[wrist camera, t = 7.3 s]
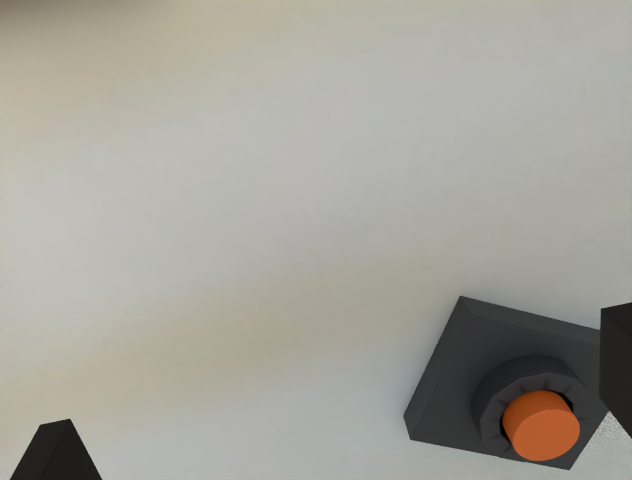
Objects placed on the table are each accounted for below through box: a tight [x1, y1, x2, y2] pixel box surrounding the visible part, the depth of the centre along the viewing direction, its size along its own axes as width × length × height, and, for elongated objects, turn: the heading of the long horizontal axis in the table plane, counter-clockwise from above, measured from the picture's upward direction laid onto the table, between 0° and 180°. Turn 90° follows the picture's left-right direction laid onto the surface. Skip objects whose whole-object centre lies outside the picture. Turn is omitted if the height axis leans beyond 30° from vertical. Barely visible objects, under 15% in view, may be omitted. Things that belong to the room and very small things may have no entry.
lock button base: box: [404, 296, 609, 470], centre depth 35 cm, size 12×10×4 cm
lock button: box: [502, 390, 580, 461], centre depth 33 cm, size 4×4×2 cm
